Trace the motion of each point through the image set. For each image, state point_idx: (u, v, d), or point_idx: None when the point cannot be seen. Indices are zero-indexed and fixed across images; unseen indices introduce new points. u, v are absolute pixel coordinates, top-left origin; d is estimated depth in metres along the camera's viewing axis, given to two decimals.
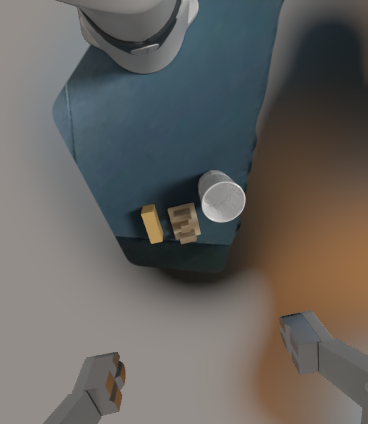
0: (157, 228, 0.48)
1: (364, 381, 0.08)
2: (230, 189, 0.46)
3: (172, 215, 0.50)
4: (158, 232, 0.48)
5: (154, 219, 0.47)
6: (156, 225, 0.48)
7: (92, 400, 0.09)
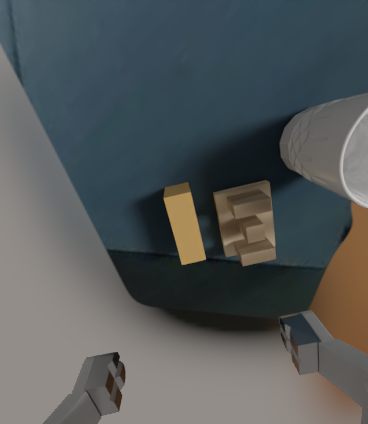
0: (197, 231, 0.22)
1: (364, 381, 0.08)
2: (360, 144, 0.21)
3: (223, 206, 0.24)
4: (198, 240, 0.23)
5: (192, 211, 0.21)
6: (195, 224, 0.22)
7: (92, 400, 0.09)
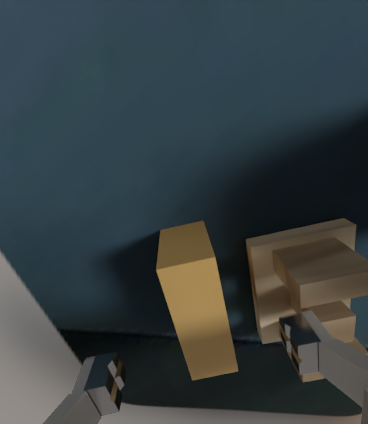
0: (224, 327, 0.11)
1: (364, 381, 0.08)
2: None
3: (265, 266, 0.13)
4: (226, 342, 0.11)
5: (216, 292, 0.10)
6: (222, 316, 0.11)
7: (92, 400, 0.09)
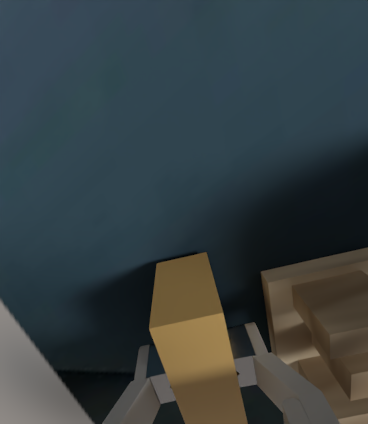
0: (234, 391, 0.09)
1: (288, 396, 0.08)
2: None
3: (283, 302, 0.12)
4: (237, 407, 0.09)
5: (224, 352, 0.08)
6: (231, 379, 0.09)
7: (154, 387, 0.09)
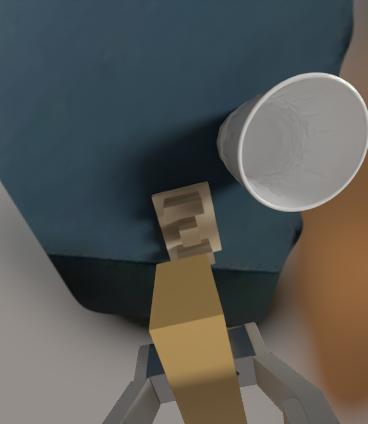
0: (234, 393, 0.09)
1: (288, 396, 0.08)
2: (294, 143, 0.20)
3: (162, 209, 0.24)
4: (237, 409, 0.09)
5: (224, 354, 0.08)
6: (231, 381, 0.09)
7: (154, 387, 0.09)
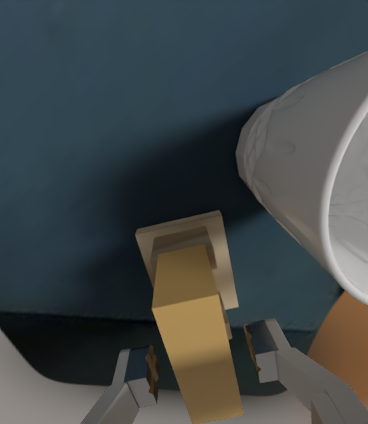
0: (228, 369, 0.10)
1: (315, 391, 0.08)
2: (367, 156, 0.12)
3: (151, 251, 0.16)
4: (231, 384, 0.10)
5: (219, 332, 0.09)
6: (226, 357, 0.10)
7: (132, 392, 0.09)
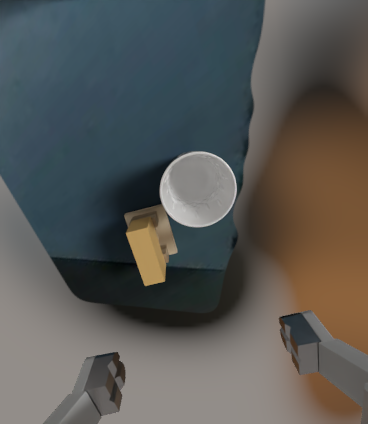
0: (155, 258, 0.27)
1: (364, 381, 0.08)
2: (216, 179, 0.30)
3: None
4: (157, 265, 0.28)
5: (149, 242, 0.27)
6: (153, 253, 0.27)
7: (92, 400, 0.09)
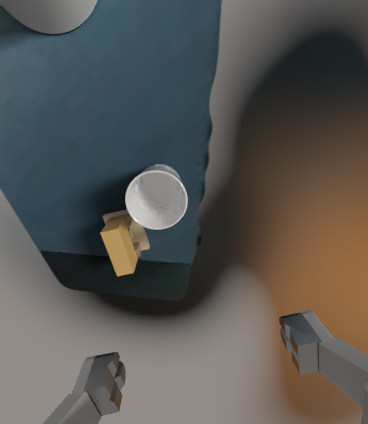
0: (125, 254, 0.33)
1: (364, 381, 0.08)
2: (179, 188, 0.35)
3: None
4: (127, 259, 0.33)
5: (120, 240, 0.32)
6: (123, 249, 0.33)
7: (92, 400, 0.09)
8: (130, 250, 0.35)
